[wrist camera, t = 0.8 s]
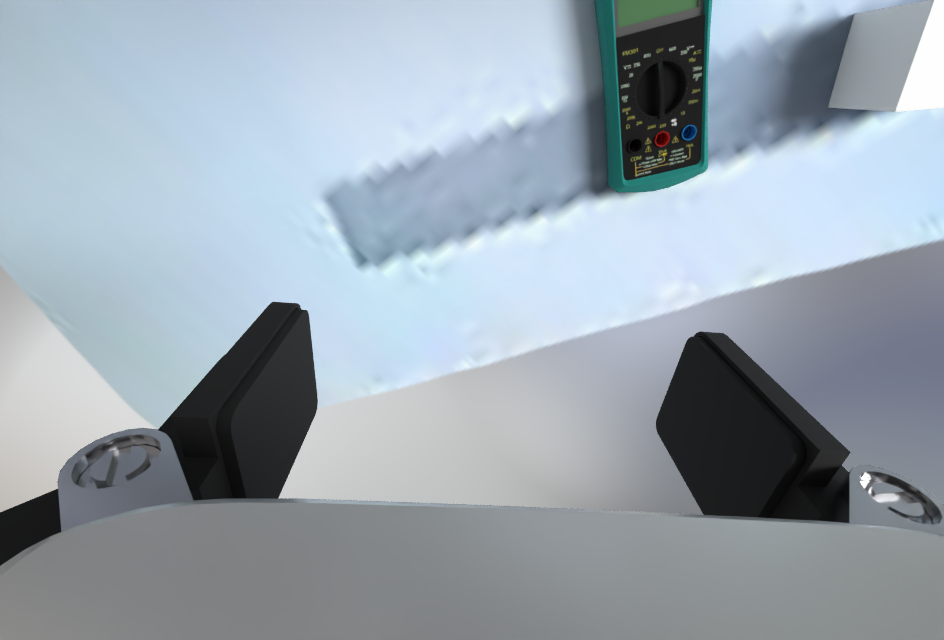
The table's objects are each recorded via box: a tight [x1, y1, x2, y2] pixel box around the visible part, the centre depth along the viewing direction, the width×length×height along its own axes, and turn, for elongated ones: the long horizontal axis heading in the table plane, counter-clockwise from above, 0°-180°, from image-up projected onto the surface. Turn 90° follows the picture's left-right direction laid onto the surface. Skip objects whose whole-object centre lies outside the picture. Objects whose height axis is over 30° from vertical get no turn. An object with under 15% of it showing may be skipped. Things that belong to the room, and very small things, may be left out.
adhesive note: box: [828, 0, 944, 112], centre depth 29 cm, size 6×6×6 cm
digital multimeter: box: [595, 0, 712, 192], centre depth 31 cm, size 7×15×3 cm, turn 13°
